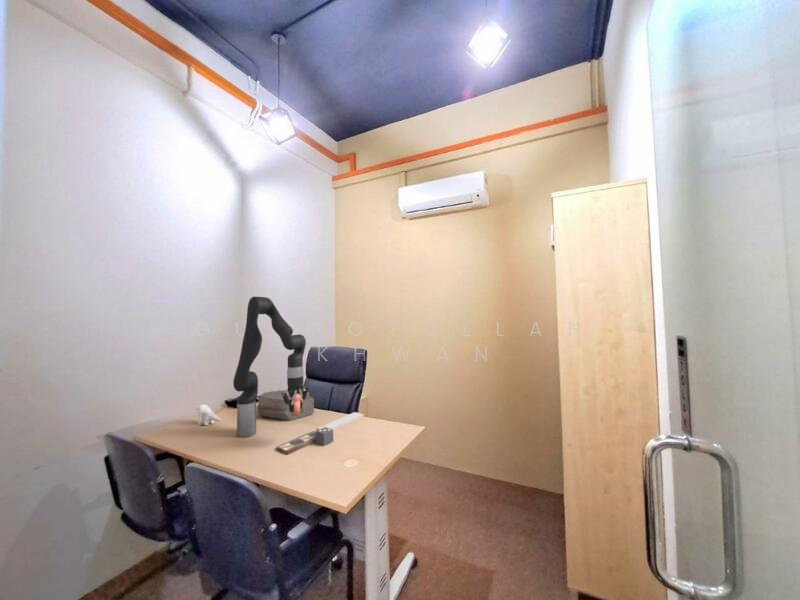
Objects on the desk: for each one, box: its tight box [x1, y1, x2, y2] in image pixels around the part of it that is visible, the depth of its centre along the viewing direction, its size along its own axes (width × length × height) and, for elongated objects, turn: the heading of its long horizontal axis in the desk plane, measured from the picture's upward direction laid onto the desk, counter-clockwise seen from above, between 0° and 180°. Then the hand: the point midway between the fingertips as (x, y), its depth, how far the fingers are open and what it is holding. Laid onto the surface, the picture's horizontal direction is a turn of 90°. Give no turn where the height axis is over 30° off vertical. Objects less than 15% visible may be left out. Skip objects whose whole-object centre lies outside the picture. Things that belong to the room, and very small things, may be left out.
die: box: [315, 427, 334, 447], centre depth 151 cm, size 6×6×6 cm
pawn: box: [291, 394, 301, 416], centre depth 149 cm, size 5×5×11 cm
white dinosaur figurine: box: [193, 403, 224, 427], centre depth 179 cm, size 7×24×11 cm, turn 70°
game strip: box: [276, 430, 317, 456], centre depth 151 cm, size 9×22×2 cm, turn 145°
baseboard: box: [316, 410, 364, 431], centre depth 179 cm, size 30×3×10 cm
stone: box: [256, 389, 315, 421], centre depth 195 cm, size 37×26×15 cm
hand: (295, 410), depth 149 cm, fingers closed on pawn, 4 cm apart
